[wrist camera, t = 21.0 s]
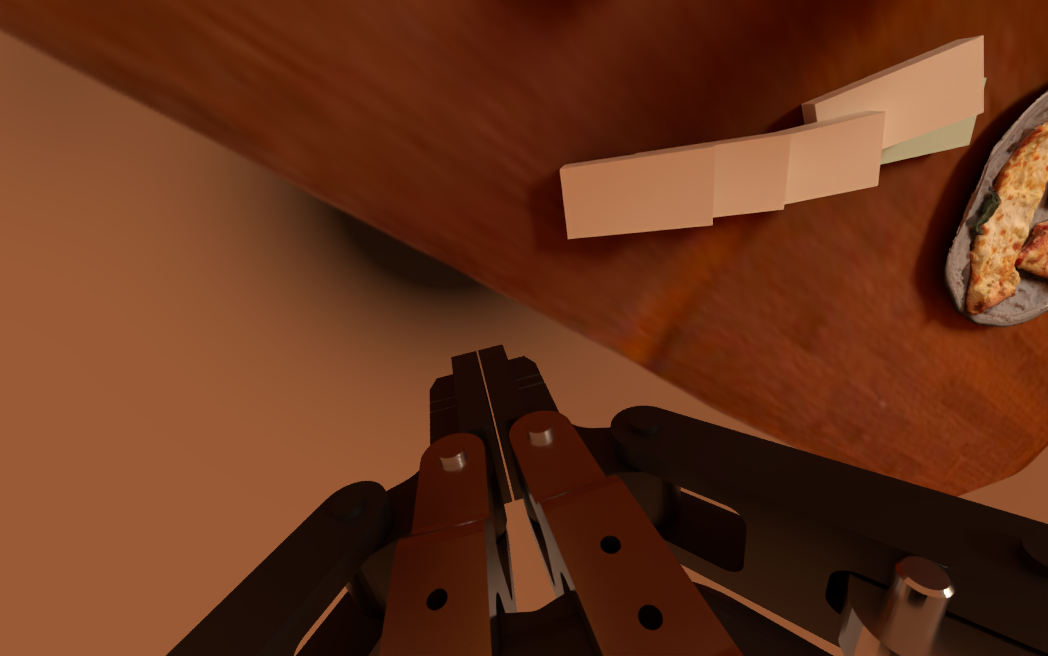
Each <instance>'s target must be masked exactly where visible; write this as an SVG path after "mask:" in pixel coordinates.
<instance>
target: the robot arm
mask: <svg viewBox="0 0 1048 656" xmlns="http://www.w3.org/2000/svg"><path fill="white" fill-rule="evenodd" d="M478 352H479V356H480V360H481V364H482V368H483V372H484V376H485V381H486V385H487V389H488V393H489V397H490V402H491V405H492V409H493V413H494V418H495V422H496V426H497V430H498V434H499V438H500V442H501V446H502V450H503V454H504V458H505V462H506V466H507V470H508V474H509V478H510V482H511V486H512V491H513V494H514V499H515V500H519V499H522V498H523V500H524V503H525V507H526V511H527V515H528V519H529V523H530V527H531V531H532V533H533V536H534V539H535V541H536V544H537V547H538V549H539V552H540V555H541V558H542V561H543V563H544V566H545V569H546V572H547V574H548V577H549V580H550V583H551V585H552V588H553V591H554V594H555V596H556V599H555V600H554V601H552V602H550V603H549V604H547V605H546V606H544V607H543V608H541V609H539V610H537V611H533V612H517V606H516V598H515V589H514V580H513V571H512V562H511V554H510V545H509V537H508V531H507V528H506V524H507V517H506V512H505V507H504V504H506V503H509V502H512V498H511V494H510V490H509V485H508V481H507V477H506V473H505V468H504V464H503V460H502V456H501V451H500V447H499V443H498V439H497V435H496V430H495V426H494V422H493V417H492V413H491V409H490V405H489V401H488V397H487V393H486V389H485V385H484V381H483V377H482V373H481V369H480V365H479V361H478V357H477V353H476V351H474V352H470V353H466V354H462V355H459V356H455V357H451V359H452V368H453V374H452V375H449V376H445V377H441V378H437V379H436V381H435V382H434V384H433V386H432V387H431V389H430V446H429V447H428V448H427V450H426V451H425V452H424V454H423V456H422V458H421V462H420V470H419V471H418V472H417V473H416V474H415V475H413V476H412V477H411V478H409V479H408V480H406V481H404V482H403V483H401V484H399V485H397V486H395V487H393V488H391V489H390V490H388V491H385V489H384V488H383V486H382V485H380V484H379V483H377V482H373V481H361V482H357V483H353V484H350V485H348V486H345V487H343V488H341V489H340V490H338V491H336V492H335V493H334V494H332V495H331V496H330V497H329V498H328V499H326V500H325V502H323V503H322V504H321V505H320V506H319V507H318V508H317V509H316V510H315V511H314V512H313V513H312V514H311V515H310V516H309V517H308V518H307V519H306V520H305V521H304V522H303V523H302V524H301V525H300V526H299V527H298V528H297V529H296V530H295V531H294V532H292V533H291V534H290V535H289V536H288V537H287V538H286V539H285V540H284V541H283V542H282V543H281V544H280V545H279V546H278V547H277V548H276V549H275V550H274V551H273V552H272V553H271V554H270V555H269V556H268V557H267V558H266V559H265V560H264V561H263V562H262V563H261V564H260V565H259V566H258V567H256V568H255V569H254V571H252V572H251V573H250V574H249V575H248V576H247V577H246V578H245V579H244V580H243V581H242V582H241V583H240V584H239V585H238V586H237V587H236V588H235V589H234V590H233V591H232V592H231V593H230V594H229V595H228V596H227V597H226V598H225V599H224V600H223V601H222V602H221V603H220V604H218V605H217V606H216V607H215V608H214V609H213V610H212V611H211V612H210V613H209V614H208V615H207V616H206V617H205V618H204V619H203V620H202V621H201V622H200V623H199V624H198V625H197V626H196V627H195V628H194V629H193V630H192V631H191V632H190V633H189V634H188V635H187V636H186V637H185V638H184V639H183V640H182V641H180V643H178V644H177V645H176V646H175V647H174V648H173V649H172V650H171V651H170V652H169V653H168V654H167V655H166V656H294V653H295V651H296V648H297V646H298V644H299V643H300V641H301V640H302V638H303V637H304V636H305V634H306V633H307V632H308V631H309V629H310V628H311V627H312V626H313V624H314V623H315V622H316V621H317V620H318V619H319V617H320V616H321V615H322V614H323V612H324V611H325V610H326V609H327V607H328V606H329V605H330V604H331V603H332V601H333V600H334V599H335V598H336V596H337V595H338V594H339V593H340V591H341V590H342V589H343V588H344V587H345V586H346V588H347V590H348V592H347V593H346V594H345V595H344V596H343V598H342V599H341V600H340V601H339V603H338V604H337V605H336V607H335V608H334V609H333V610H332V612H331V613H330V614H329V615H328V617H327V618H326V619H325V620H324V621H323V623H322V624H321V625H320V626H319V628H318V629H317V630H316V631H315V633H314V634H313V635H312V636H311V638H310V639H309V640H308V641H307V643H306V644H305V645H304V646H303V648H302V649H301V650H300V651H299V653H298V654H297V655H296V656H833V655H831V654H829V653H828V652H826V651H824V650H822V649H821V648H819V647H817V646H815V645H813V644H812V643H810V642H808V641H807V640H805V639H803V638H801V637H799V636H798V635H796V634H794V633H793V632H791V631H789V630H787V629H786V628H784V627H782V626H780V625H779V624H777V623H775V622H773V621H771V620H770V619H768V618H766V617H764V616H763V615H761V614H759V613H757V612H756V611H754V610H752V609H750V608H748V607H747V606H745V605H743V604H742V603H740V602H738V601H736V600H735V599H733V598H731V597H729V596H727V595H725V594H724V593H721V592H719V591H717V590H714V589H712V588H710V587H707V586H705V585H701V584H698V583H695V582H692V581H691V579H690V578H689V576H688V575H687V573H686V572H685V571H684V569H683V568H682V566H681V565H680V564H682V565H683V566H685V567H687V568H689V569H691V570H693V571H695V572H697V573H699V574H700V575H702V576H704V577H706V578H708V579H710V580H712V581H714V582H716V583H718V584H720V585H722V586H724V587H725V588H727V589H730V590H731V591H733V592H735V593H737V594H739V595H741V596H742V597H744V598H746V599H748V600H750V601H752V602H754V603H756V604H758V605H760V606H762V607H763V608H765V609H767V610H769V611H771V612H773V613H775V614H777V615H779V616H781V617H782V618H784V619H786V620H788V621H790V622H792V623H794V624H796V625H798V626H800V627H802V628H804V629H805V630H807V631H809V632H811V633H813V634H815V635H817V636H819V637H821V638H823V639H824V640H826V641H829V642H830V643H832V644H834V645H836V646H838V647H840V648H841V650H842V652H843V654H844V656H1048V524H1045V523H1043V522H1039V521H1036V520H1032V519H1029V518H1026V517H1023V516H1019V515H1016V514H1012V513H1009V512H1006V511H1002V510H998V509H996V508H992V507H989V506H985V505H982V504H979V503H976V502H972V501H969V500H966V499H962V498H959V497H956V496H952V495H949V494H945V493H942V492H939V491H935V490H932V489H929V488H925V487H922V486H919V485H915V484H912V483H909V482H905V481H902V480H899V479H895V478H892V477H889V476H885V475H882V474H879V473H875V472H872V471H868V470H865V469H862V468H858V467H855V466H852V465H848V464H845V463H842V462H838V461H835V460H832V459H828V458H825V457H822V456H818V455H815V454H812V453H808V452H805V451H802V450H798V449H795V448H791V447H788V446H785V445H781V444H778V443H775V442H771V441H768V440H765V439H761V438H758V437H755V436H751V435H748V434H744V433H741V432H738V431H735V430H731V429H728V428H724V427H721V426H718V425H714V424H711V423H708V422H704V421H701V420H697V419H694V418H691V417H688V416H684V415H681V414H677V413H674V412H671V411H668V410H664V409H661V408H657V407H653V406H635V407H630V408H627V409H625V410H622V411H621V412H619V413H618V414H617V415H616V416H615V417H614V418H613V420H612V422H611V427H610V428H584V427H578V426H575V425H573V424H571V422H570V421H569V420H568V418H567V417H566V416H564V415H562V414H561V413H559V411H558V409H557V407H556V405H555V403H554V401H553V399H552V397H551V395H550V393H549V390H548V388H547V386H546V384H545V383H544V380H543V378H542V376H541V375H540V372H539V370H538V368H537V366H536V364H535V363H534V362H533V361H531V360H530V359H528V358H526V357H525V356H523V357H518V358H515V359H511V360H508V359H507V356H506V353H505V350H504V348H503V345H498V346H494V347H490V348H486V349H482V350H478ZM681 487H682V488H684V489H687V490H689V491H692V492H694V493H697V494H699V495H702V496H704V497H707V498H709V499H712V500H714V501H716V502H719V503H721V504H724V505H726V506H728V507H730V508H732V509H733V510H735V511H736V512H737V513H738V514H739V515H738V514H735V513H733V512H730V511H728V510H725V509H723V508H721V507H718V506H716V505H714V504H711V503H709V502H706V501H704V500H701V499H699V498H696V497H694V496H692V495H689V494H687V493H684V492H682V491H681Z"/></svg>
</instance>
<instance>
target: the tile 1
mask: <svg viewBox="0 0 1048 656" xmlns="http://www.w3.org/2000/svg"><path fill="white" fill-rule="evenodd" d="M714 166H715V146H713V145H712V144H710V143H708V144H701V145H694V146H687V147H681V148H674V149H667V150H660V151H654V152H647V153H640V154H633V155H627V156H620V157H613V158H606V159H599V160H593V161H586V162H579V163H572V164H566V165H564V166H563V167H562V168H560V177H561V185H562V194H563V202H564V210H565V219H566V227H567V236H568V239H575V238H585V237H596V236H606V235H616V234H627V233H637V232H647V231H658V230H668V229H679V228H689V227H699V226H710V225H713V200H714Z"/></svg>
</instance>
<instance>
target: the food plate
mask: <svg viewBox="0 0 1048 656" xmlns="http://www.w3.org/2000/svg"><path fill="white" fill-rule="evenodd" d="M992 150H993V151H992V152H991V154H990V157H989V158H988V162H987V163H986V165H985V167H984V171H983V172H982V176H981V179H980V180H979V181H978V184H977V186H976V189H975V191H974V192H973V193H972V194H971V199H970V200H969V203H968V205H967V207H966V210H965V212H964V214H963V215H964V217H963V219H962V222H960V226H959V227H958V231H957V236H956V237H955V239H954V240H953V241H952V242H953V245H952V247H951V248H950V249H949V251H950V250H951V252H948V256H947V262H946V265H945V266H946V267H945V269H944V273H945V275H944V278H943V279H944V282H945V286H946V289H947V290H948V293H949V295H950V298H951V300H952V302H953V303H952V304H954V308H955V309H956V311H957V313H960V314H961V315H963V316H965V317H966V319H967V320H968V321H970V322H972V323H974V324H982V325H984V326H996V327H1008V326H1014V325H1017V324H1022V323H1024V322H1027V321H1029V320H1032V319H1034V318H1036V317H1037V316H1039V315H1041V314H1043V313H1045V312H1047V311H1048V90H1047V92H1046V93H1045V94H1042V95H1041V97H1040V98H1038V99H1037V100H1036V101H1035V103H1033V104H1032V105H1031V106H1030V107H1029V108H1028V109H1027V110H1026V111H1025V112H1024V113H1023V114H1022V115H1021V116H1020V118H1019V119H1018V120H1017V121H1016V122H1015V123H1014V124H1013V125H1012V126H1011V128H1010V129H1009V130H1008V131H1007V132H1006V133H1005V134H1004V136H1003V137H1002V138H1001V140H1000V141H999V142H998V143H997V144H996V146H994V148H993V149H992Z"/></svg>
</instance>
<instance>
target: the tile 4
mask: <svg viewBox="0 0 1048 656" xmlns="http://www.w3.org/2000/svg"><path fill="white" fill-rule="evenodd" d="M801 106H802V112H803V119H804V125H807V124H811V123H815V122H819V121H823V120H828V119H832V118H836V117H840V116H844V115H848V114H852V113H857V112H861V111H865V110H871V111H885V112H886V117H885V126H884V135H883V144H882V149H884V148H887V147H889V146H892V145H895V144H898V143H900V142H903V141H906V140H909V139H912V138H914V137H917V136H920V135H923V134H925V133H928V132H931V131H934V130H936V129H939V128H942V127H945V126H947V125H950V124H953V123H956V122H958V121H961V120H964V119H967V118H969V117H972V116H975V115H978V114H981V113H983V112H984V35H982V36H977V37H971V38H965V39H960V40H955V41H953V42H950V43H948V44H946V45H943V46H941V47H938V48H936V49H934V50H931V51H929V52H926V53H924V54H921V55H919V56H917V57H914V58H912V59H909V60H907V61H905V62H902V63H900V64H897V65H895V66H892V67H890V68H888V69H885V70H883V71H880V72H878V73H875V74H873V75H871V76H868V77H866V78H863V79H861V80H859V81H856V82H854V83H851V84H849V85H846V86H844V87H842V88H839V89H837V90H834V91H832V92H830V93H827V94H825V95H822V96H820V97H817V98H815V99H813V100H810V101H808V102H805V103H803V104H801Z"/></svg>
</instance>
